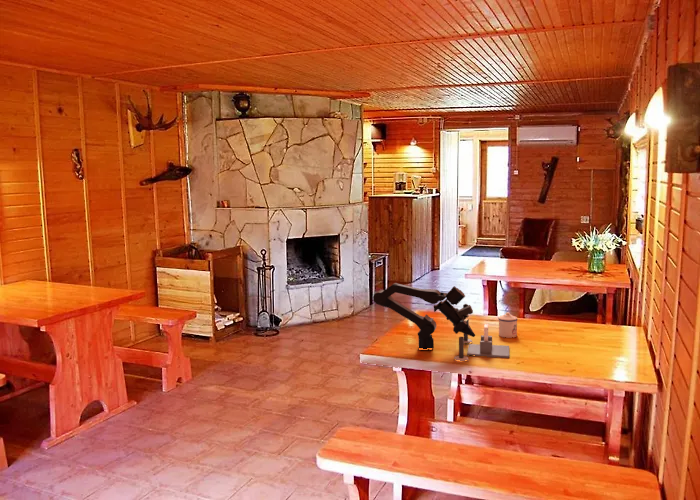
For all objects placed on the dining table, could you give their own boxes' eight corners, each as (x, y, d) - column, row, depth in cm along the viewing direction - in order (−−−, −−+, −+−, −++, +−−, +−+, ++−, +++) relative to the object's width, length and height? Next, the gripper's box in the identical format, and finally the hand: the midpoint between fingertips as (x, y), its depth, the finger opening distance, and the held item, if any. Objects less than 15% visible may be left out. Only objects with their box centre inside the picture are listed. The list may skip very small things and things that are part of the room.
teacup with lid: (515, 338, 280) (516, 315, 279) (496, 337, 284) (496, 314, 283) (519, 332, 291) (519, 310, 290) (500, 331, 295) (501, 308, 293)
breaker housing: (467, 356, 255) (466, 342, 254) (469, 346, 270) (469, 333, 269) (509, 358, 250) (509, 344, 249) (509, 347, 265) (509, 335, 265)
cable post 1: (454, 362, 247) (454, 339, 246) (453, 357, 253) (453, 335, 252) (469, 362, 246) (469, 339, 245) (467, 357, 252) (467, 335, 251)
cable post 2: (460, 344, 273) (459, 323, 272) (458, 340, 279) (458, 320, 278) (472, 344, 273) (472, 323, 272) (471, 340, 279) (471, 320, 278)
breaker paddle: (484, 349, 257) (484, 327, 256) (484, 345, 263) (484, 324, 262) (487, 349, 257) (487, 327, 256) (488, 345, 263) (488, 324, 261)
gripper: (460, 303, 251) (486, 329, 250) (463, 295, 269) (488, 319, 268) (442, 321, 254) (468, 346, 253) (446, 311, 272) (470, 335, 270)
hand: (474, 336), depth 261 cm, fingers closed
